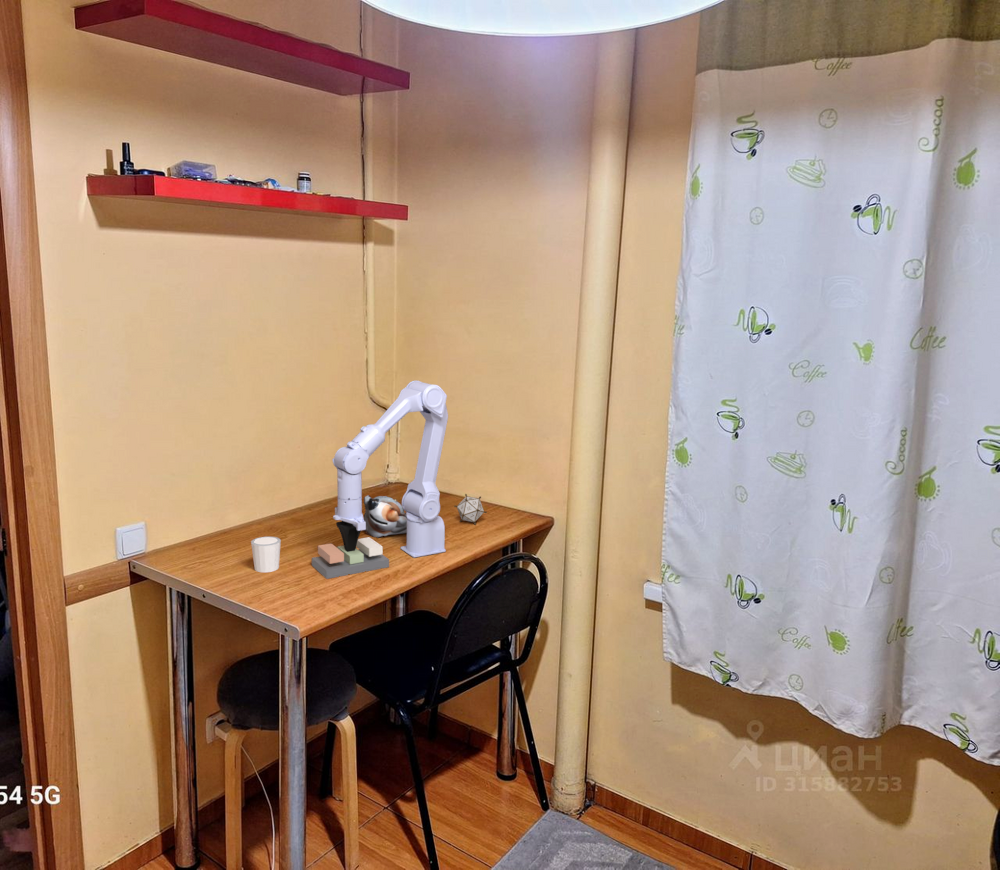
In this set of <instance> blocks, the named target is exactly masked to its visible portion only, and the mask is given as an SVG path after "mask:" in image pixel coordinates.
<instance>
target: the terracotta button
mask: <svg viewBox="0 0 1000 870" xmlns="http://www.w3.org/2000/svg"><path fill="white" fill-rule="evenodd" d="M337 547H338V546H335V545H334V544H333V543H326V544H319V545H317V554H318V555H319V556H321V557H323V558H324V559H325V560H326V561H327V562H328V563H330V564H332V563H337V562H343V561H344V553H343V552H342V551H340V550H339V549H338V548H337Z"/></svg>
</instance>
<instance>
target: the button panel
mask: <svg viewBox="0 0 1000 870" xmlns="http://www.w3.org/2000/svg"><path fill="white" fill-rule="evenodd" d="M358 550H359V551H360V552H362V551H361V550H360V549H358ZM362 553H363V554H364V562H360V563H355V564H349V563H348V562H346V561H345V560H344V561H343V562H337V563H332V564H330V563H328V562H327V561H326V560H325V559H324V558H323V557H321V556H320V555H319V556H313V557H311V566H312V567H313V568H314V569H315V570H316V571H317V572H318V573H319V574H320V575H322V576H323V577H324V578H325V579H326V580H328V579H329V580H330V579H334V578H339V576H340V577H344V576H349V575H348V574H350V575H354V574H359V573H364V572H365V571H366V572H369V571H375V570H380V569H381V568H382V569H386V568H390V559H389V558H388V557H387V556H385V555H384V554H382V555H376V556H370V557H369V556H368V555H366V554H365V553H364V552H362Z"/></svg>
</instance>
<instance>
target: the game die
mask: <svg viewBox="0 0 1000 870" xmlns="http://www.w3.org/2000/svg"><path fill="white" fill-rule="evenodd" d="M464 495H465V497H464V498H463V499H462V500H461V501H460V502H459V503H458V504H457V505H455V504H454V505H453V507H454V508H456V509H457V511H458V515H459V517H460V520H459V523H462V521H465V522H469V523H473V525H475V526H476V525H477V523H476V522H477V520H479V518H480V517H482V515H484V513H485V514H487V513H488V512H487V511H485V510H484V506H483V504H482V501H481V499H482V495H481V496H479V497H475V496H474V497H473V496H468V494H467V493H465V494H464Z"/></svg>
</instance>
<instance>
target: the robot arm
mask: <svg viewBox="0 0 1000 870" xmlns="http://www.w3.org/2000/svg"><path fill="white" fill-rule="evenodd" d="M405 386H406V387H404V388H403V389H401V390H400V393H399V395H398V397H397V398H396V399H395V400H394V402H393V403H391V405H390V406H389V407H388V408H387V409H386V411H385V412H384V413H383V414H382V415H381V416H380V418H379V419H377V421H376V422H375V423H373V424H372V423H371V424H367V425H366V426H364V425H363V426H362V427H361V428H360V429H359V430H360V432H358V434H357V435H355V437H354V438H353V439H352V440H351V441H350V440H349V441H348V442H347V443H346V446H343V447H340V448H339V449H338V450H337V451H336V452H335V454H334V457H333V458H332V464H333V466H334V467H335V468H336V471H337V475H336V476H337V478H336V479H337V506H336V507H334V515H333V516H332V517H333V518H332V519H334V520H335V521H337V522H336V523H335V524H336V526H337V528H338V530H339V532H340V536H341V539H342V543H343V545H344V548H345V550H346V551H347V552H349V551H355V549H357V547H356V545H357V541H358V539H359V537H360V534H361V532H362V531H365V530H366V522H365V521H364V519H363V518H364V514H363V512H362V511H363V501H362V499H363V498H362V496H363V493H362V492H363V491H362V489H363V488H362V485H363V484H362V482H363V480H362V471H364V470H365V468H366V466H367V462H368V460H369V459H370V457H371V456H372V455H373V454H374V453H375V452H376V451H377V449H379V447H380V446H382V444H383V443H384V442H386V433H387V432H389V431H390V430H391V429H392V428H393V427H394V426H396V425H397V423H399V422H400V421H401V420H402V419H403V418H404V417H405V416H406V415H407V414H408V413H416V412H419V413H420V414H421V416H422V417H423V418H424V419H425V422H424V427H423V432H422V438H421V444H420V448H419V452H418V458H417V464H416V470H415V474H414V479H413V480H412V481H411V482H409V483H408V485H407V489H406V491H405V492H404V494H403V496H402V499H401V505H402V507H403V509H404V512H405V513H406V516H407V533H406V545H404V546H400V548H399V549H400V550H401V551H403V552H405V553H407V554H408V555H409V556H411V557H412V558H419V557H424V556H430V555H435V554H440V553H445V552H446V551H447V549H446V548H445V541H446V540H445V537H446V535H445V534H446V533H445V532H446V531H445V529H446V527H445V522H444V519H443V518H442V517H441V516H440V515H439V514H440V511H441V504H440V495H441V493H440V491H439V488H438V487H437V484H436V481H437V476H438V473H439V472H438V471H439V466H440V460H441V455H442V451H443V447H444V440H445V434H446V430H447V423H448V420H449V412H448V408H447V404H446V402H447V399H448V395H447V394H446V392H445V391H444V390H443V388H441V387H440V386H439V385H438V384H432V383H428V382H423V381H420V380H412V381H410V382H409V383H407V385H405Z"/></svg>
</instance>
